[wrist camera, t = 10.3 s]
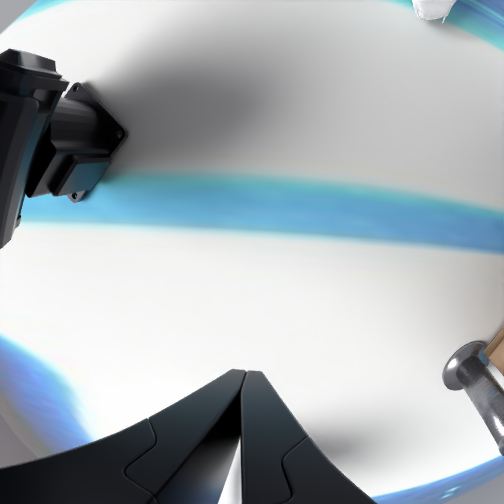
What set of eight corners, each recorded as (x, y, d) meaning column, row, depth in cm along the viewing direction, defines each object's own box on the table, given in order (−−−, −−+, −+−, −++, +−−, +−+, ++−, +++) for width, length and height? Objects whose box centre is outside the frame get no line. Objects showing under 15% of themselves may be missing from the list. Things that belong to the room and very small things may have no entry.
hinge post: (434, 369, 21) (488, 467, 10) (479, 330, 19) (550, 413, 9) (452, 395, 21) (498, 482, 11) (493, 361, 20) (551, 437, 10)
